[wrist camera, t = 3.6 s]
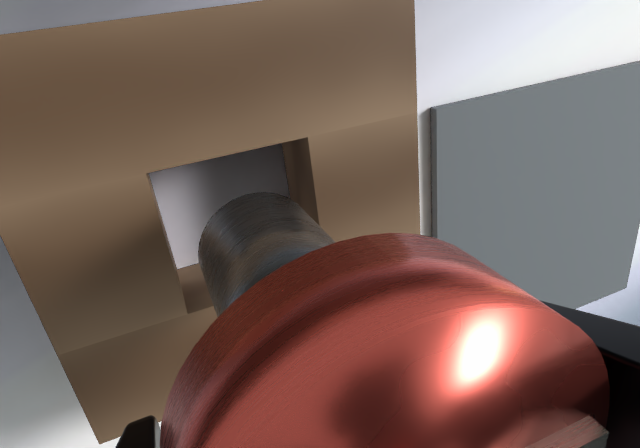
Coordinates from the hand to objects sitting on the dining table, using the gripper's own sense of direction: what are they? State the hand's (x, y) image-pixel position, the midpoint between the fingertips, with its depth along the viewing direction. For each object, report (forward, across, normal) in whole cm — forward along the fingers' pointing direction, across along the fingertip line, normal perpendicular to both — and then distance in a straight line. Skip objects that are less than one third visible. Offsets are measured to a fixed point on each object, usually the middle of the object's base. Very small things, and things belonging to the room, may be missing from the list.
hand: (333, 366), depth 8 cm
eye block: (+10, 0, 0) cm, 10 cm away
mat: (+10, -15, +5) cm, 18 cm away
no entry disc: (+5, 0, 0) cm, 5 cm away
